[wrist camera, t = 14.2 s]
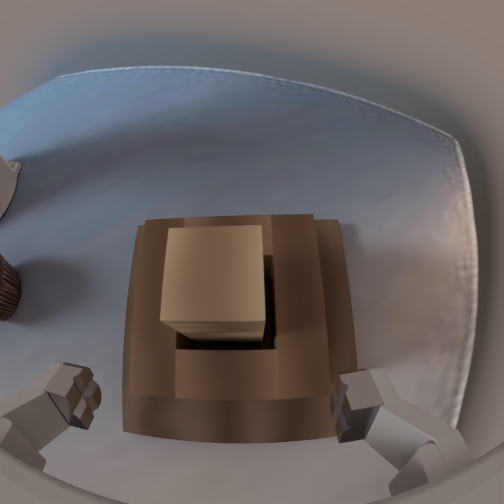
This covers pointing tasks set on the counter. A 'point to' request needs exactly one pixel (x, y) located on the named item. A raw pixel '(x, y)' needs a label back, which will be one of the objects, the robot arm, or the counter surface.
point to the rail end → (215, 285)
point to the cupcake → (8, 289)
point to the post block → (242, 358)
